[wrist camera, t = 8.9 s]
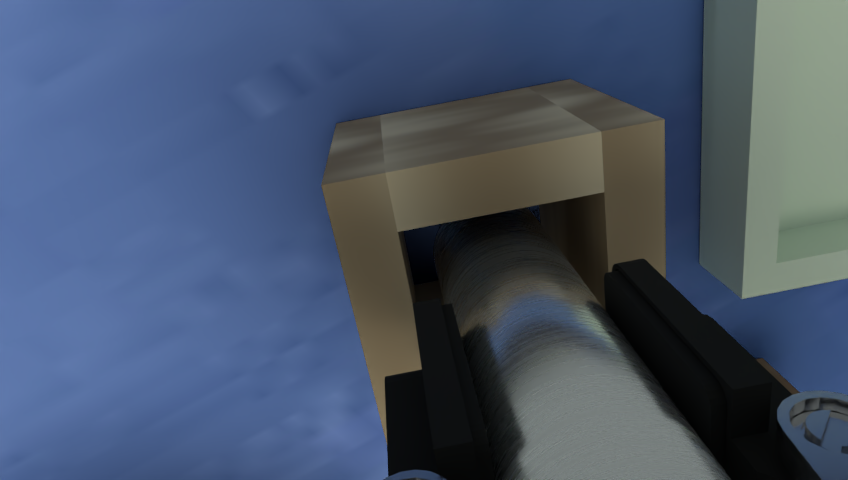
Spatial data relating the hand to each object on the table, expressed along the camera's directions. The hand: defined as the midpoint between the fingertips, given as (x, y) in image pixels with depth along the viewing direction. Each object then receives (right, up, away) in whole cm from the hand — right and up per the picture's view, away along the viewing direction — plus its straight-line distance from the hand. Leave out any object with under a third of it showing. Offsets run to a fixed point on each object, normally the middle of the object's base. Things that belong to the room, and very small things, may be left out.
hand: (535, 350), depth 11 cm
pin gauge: (0, +2, +4) cm, 5 cm away
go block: (-1, +3, +7) cm, 8 cm away
